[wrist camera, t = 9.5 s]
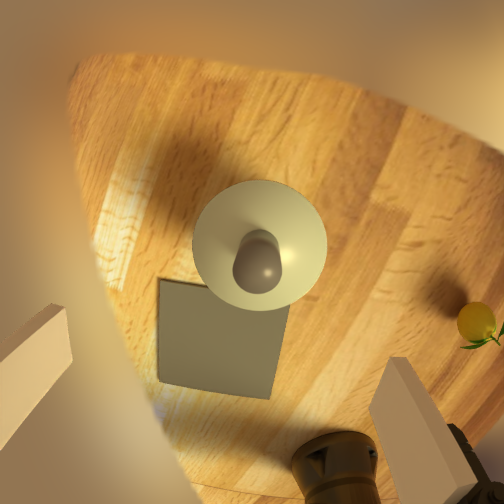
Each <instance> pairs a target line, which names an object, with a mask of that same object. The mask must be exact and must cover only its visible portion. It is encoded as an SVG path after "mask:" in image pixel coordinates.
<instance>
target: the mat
mask: <svg viewBox="0 0 504 504" xmlns="http://www.w3.org/2000/svg"><path fill="white" fill-rule="evenodd" d="M289 308H290V304H289V305H287V306H285V307H281V308H278V309H274V310H268V311H252V310H246V309H242V308H239V307H236V306H233V305H231V304H229V303H227V302H225V301H224V300H222V299H220V298H219V297H218V296H217V295H215V294H214V293H213V292H212V291H211V290H210V289H209V288H208V287H205V286H199V285H193V284H186V283H180V282H174V281H168V280H162V279H161V280H160V303H159V382H162V383H167V384H172V385H177V386H182V387H187V388H193V389H198V390H204V391H210V392H216V393H222V394H229V395H236V396H243V397H251V398H259V399H268V400H269V399H270V395H271V391H272V386H273V382H274V378H275V373H276V369H277V364H278V360H279V355H280V351H281V346H282V341H283V337H284V332H285V327H286V322H287V317H288V313H289Z"/></svg>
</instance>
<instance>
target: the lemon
mask: <svg viewBox="0 0 504 504" xmlns="http://www.w3.org/2000/svg"><path fill="white" fill-rule="evenodd" d="M457 326H458V330H459V333H460V334H461V335H462V337H463V338H464V339H465V340H466V341H468V342H470V343H473V344H476V345H472V346H466V347H460V348H464V349H476V348H478V347H481V346H482V345H484V344H486V343H487V342H488V341H491V340H495V342H496V343H497V344H498V345H499V346H500V343H499V342H498V340H496V339H495V338H494V337H493V336H494V334H495V332H496V328H497V323H496V318H495V315H494V313H493V312H492V310H491V309H490V308H489V307H488V306H487V305H485V304H483V303H481V302H472V303H469V304H467V305H466V306H464V307H463V308H462V309H461V311H460V312H459V315H458V319H457ZM503 334H504V323H503V326H502V329H501V331H500V334H499V337H500V336H501V335H503ZM499 337H498V339H499Z"/></svg>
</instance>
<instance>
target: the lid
mask: <svg viewBox="0 0 504 504" xmlns="http://www.w3.org/2000/svg"><path fill="white" fill-rule="evenodd" d="M192 251H193V258H194V262H195V265H196V268H197V270H198V273H199V275H200V276H201V278H202V280H203V281H204V283H205V284H206V285H207V287H208V288H209V289H210V290H211V291H212V292H213V293H214V294H215V295H217V296H218V297H219V298H220V299H222V300H224V301H225V302H227V303H229V304H231V305H233V306H236V307H239V308H242V309H246V310H252V311H268V310H274V309H278V308H281V307H285V306H287V305H289V304H291V303H293V302H295V301H296V300H298V299H300V298H301V297H302V296H303V295H305V294H306V293H307V292H308V291H309V290H310V289H311V288H312V287H313V285H314V284H315V283H316V281H317V280H318V278H319V276H320V274H321V272H322V270H323V267H324V264H325V260H326V255H327V238H326V231H325V228H324V225H323V222H322V220H321V218H320V216H319V214H318V212H317V211H316V209H315V208H314V207H313V205H312V204H311V203H310V202H309V201H308V200H307V199H306V198H305V197H304V196H303V195H302V194H300V193H299V192H297V191H296V190H294V189H293V188H291V187H289V186H287V185H285V184H282V183H279V182H275V181H270V180H249V181H244V182H240V183H238V184H235V185H232V186H230V187H228V188H226V189H225V190H223V191H222V192H220V193H219V194H217V195H216V196H215V197H214V198H213V199H212V200H211V201H210V202H209V203H208V204H207V205H206V207H205V208H204V209H203V211H202V212H201V214H200V216H199V218H198V220H197V223H196V225H195V229H194V232H193V240H192Z"/></svg>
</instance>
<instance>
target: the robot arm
mask: <svg viewBox="0 0 504 504" xmlns="http://www.w3.org/2000/svg"><path fill="white" fill-rule="evenodd" d="M72 362H73V359H72V353H71V347H70V340H69V334H68V325H67V317H66V309H65V307H63V306H59V305H56V304H52V303H51V304H50V305H48V306H47V307H46V308H44V309H43V310H42V311H41V312H39V313H38V314H37V315H36V316H34V317H33V318H32V319H30V320H29V321H28V322H26V323H25V324H24V325H22V326H21V327H20V328H19V329H17V330H16V331H15V332H14V333H13V334H11V335H10V336H9V337H7V338H6V339H5V340H4V341H3V342H1V343H0V450H1V449H2V448H3V446H4V445H5V444H6V443H7V441H8V440H9V438H10V437H11V436H12V435H13V433H14V432H15V431H16V430H17V428H18V427H19V426H20V425H21V423H22V422H23V421H24V419H25V418H26V417H27V416H28V415H29V413H30V412H31V411H32V410H33V408H34V407H35V406H36V405H37V404H38V402H39V401H40V400H41V399H42V397H43V396H44V395H45V394H46V393H47V391H48V390H49V389H50V388H51V387H52V385H53V384H54V383H55V382H56V381H57V379H58V378H59V377H60V376H61V375H62V374H63V372H64V371H65V370H66V369H67V368H68V367H69V366H70V364H71V363H72ZM369 411H370V414H371V416H372V419H373V422H374V425H375V428H376V431H377V433H378V436H379V439H380V442H381V445H382V448H383V451H384V454H385V457H386V460H387V463H388V466H389V469H390V472H391V475H392V478H393V481H394V484H395V487H396V490H397V493H398V496H399V500H400V503H401V504H504V484H502V483H500V482H495V481H494V482H491V481H490V479H489V478H488V476H487V474H486V472H485V470H484V468H483V467H482V465H481V463H480V461H479V459H478V458H477V456H476V454H475V453H474V452H473V449H472V447H471V445H470V444H468V440H467V439H466V437H465V435H464V434H463V432H462V431H461V430H460V429H459V428H457V427H456V426H455V425H454V424H453V423H452V424H446V422H445V420H444V419H443V417H442V415H441V414H440V412H439V410H438V409H437V407H436V405H435V403H434V402H433V400H432V398H431V397H430V395H429V394H428V392H427V390H426V389H425V387H424V385H423V384H422V382H421V380H420V379H419V377H418V376H417V374H416V372H415V371H414V369H413V368H412V366H411V364H410V363H409V361H408V360H407V358H406V357H390V358H389V360H388V363H387V365H386V368H385V371H384V373H383V375H382V378H381V380H380V383H379V385H378V388H377V390H376V392H375V394H374V397H373V399H372V401H371V404H370V406H369ZM377 461H378V453H377V449H376V446H375V443H374V441H373V440H372V439H371V438H370V437H368V436H366V435H364V434H361V433H357V432H338V433H332V434H327V435H324V436H321V437H318V438H316V439H313V440H311V441H309V442H308V443H306V444H305V445H303V446H302V447H301V448H299V449H298V450H297V452H296V453H295V454H294V456H293V458H292V473H293V476H294V478H295V480H296V482H297V484H298V486H299V488H300V490H301V492H302V494H303V495H304V497H305V504H381V501H380V498H379V494H378V490H377V487H376V483H375V478H376V470H377Z"/></svg>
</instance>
